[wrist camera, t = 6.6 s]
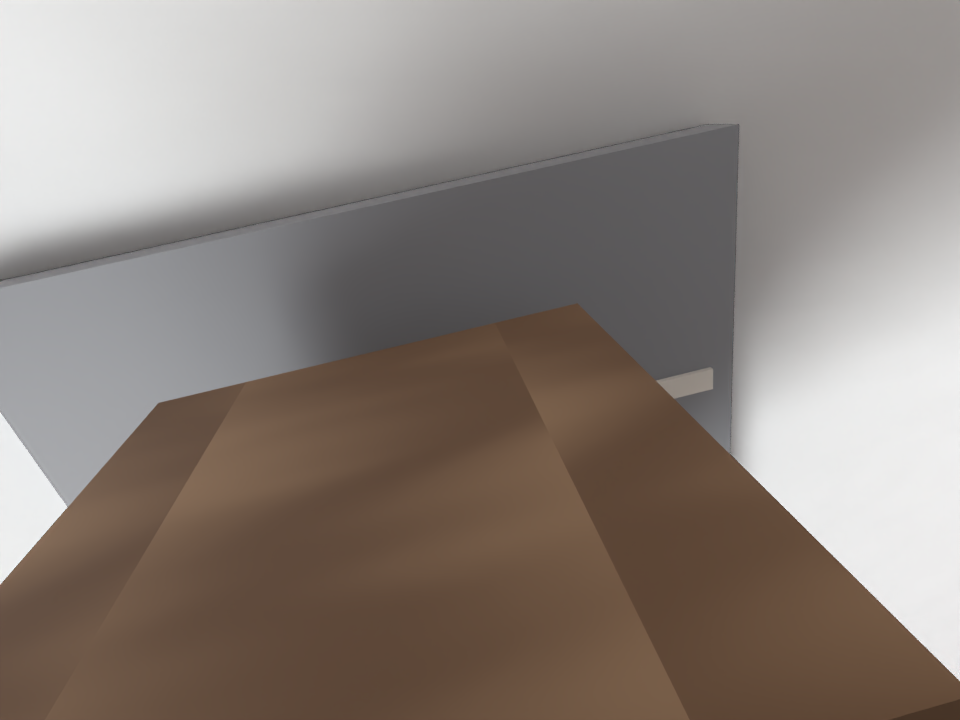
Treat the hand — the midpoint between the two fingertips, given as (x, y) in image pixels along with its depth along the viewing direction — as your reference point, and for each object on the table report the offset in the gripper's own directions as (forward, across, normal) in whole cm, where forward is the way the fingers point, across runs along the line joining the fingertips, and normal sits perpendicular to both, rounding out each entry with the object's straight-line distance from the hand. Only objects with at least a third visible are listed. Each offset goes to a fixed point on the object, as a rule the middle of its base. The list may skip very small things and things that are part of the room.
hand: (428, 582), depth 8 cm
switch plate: (+4, 0, 0) cm, 5 cm away
